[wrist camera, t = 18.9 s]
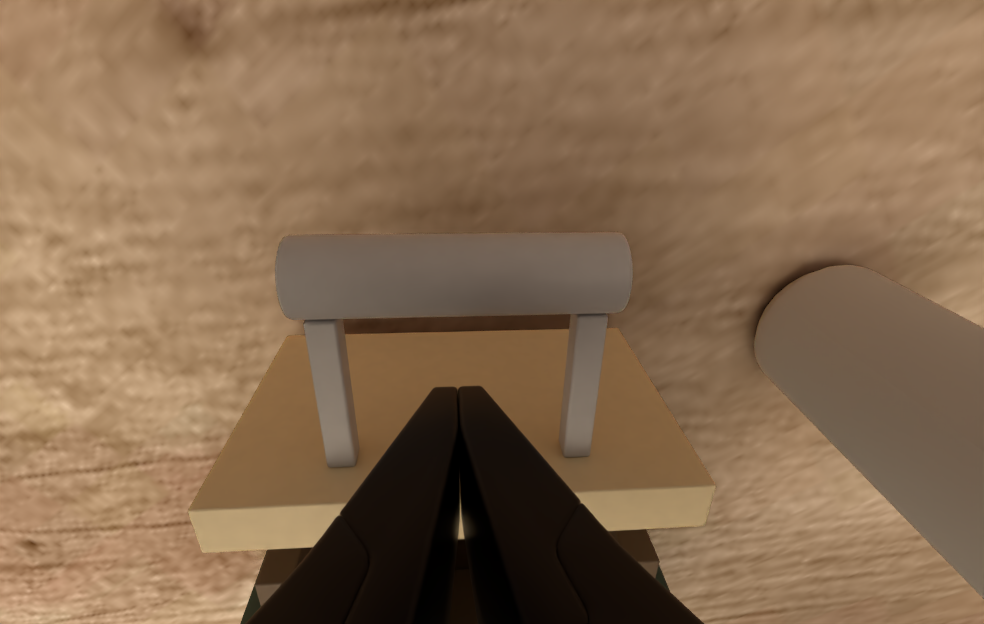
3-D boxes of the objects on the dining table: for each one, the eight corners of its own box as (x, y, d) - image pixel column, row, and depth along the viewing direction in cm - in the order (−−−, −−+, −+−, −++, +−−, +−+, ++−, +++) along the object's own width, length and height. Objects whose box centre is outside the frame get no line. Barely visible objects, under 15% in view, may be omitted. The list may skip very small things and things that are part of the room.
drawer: (256, 170, 13) (100, 265, 7) (640, 171, 14) (783, 257, 8) (329, 565, 20) (280, 780, 14) (586, 550, 21) (641, 748, 15)
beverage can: (888, 345, 19) (1464, 732, 8) (760, 398, 19) (1139, 819, 9) (873, 233, 17) (1625, 557, 6) (731, 296, 17) (1180, 689, 7)
